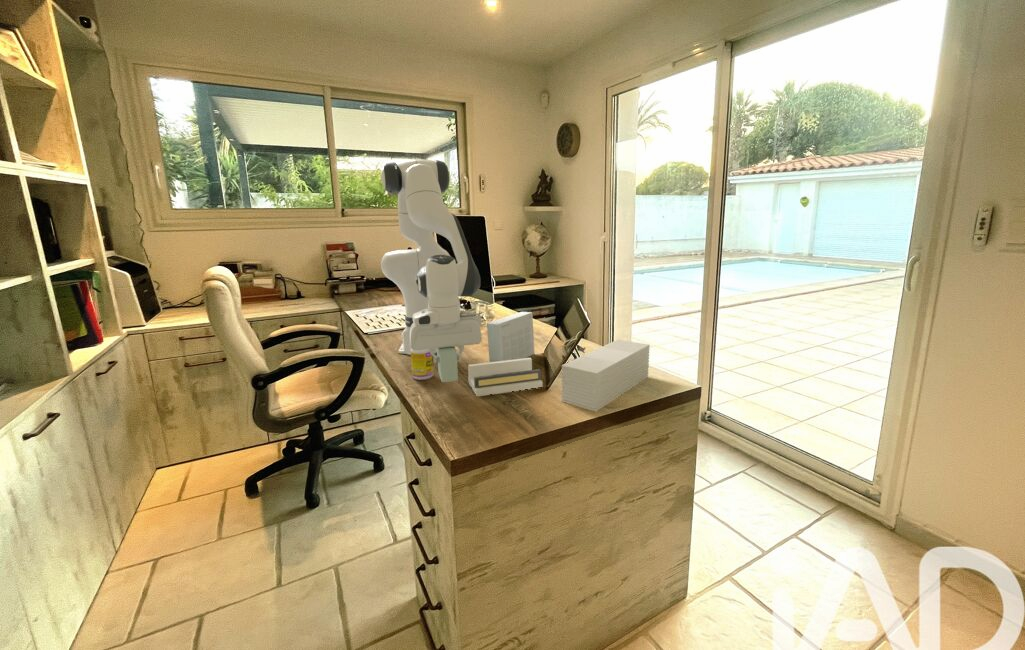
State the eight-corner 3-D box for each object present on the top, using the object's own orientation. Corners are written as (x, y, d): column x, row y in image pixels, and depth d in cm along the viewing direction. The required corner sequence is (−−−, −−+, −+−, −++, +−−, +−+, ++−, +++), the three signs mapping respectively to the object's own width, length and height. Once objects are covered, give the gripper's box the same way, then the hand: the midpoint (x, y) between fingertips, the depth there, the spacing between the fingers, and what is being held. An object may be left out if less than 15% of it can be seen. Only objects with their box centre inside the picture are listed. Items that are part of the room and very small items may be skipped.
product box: (438, 372, 131) (436, 343, 128) (453, 370, 132) (452, 342, 130) (442, 382, 123) (440, 351, 121) (458, 380, 124) (456, 350, 122)
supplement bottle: (428, 381, 139) (425, 341, 136) (409, 380, 140) (405, 341, 137) (436, 373, 145) (433, 336, 142) (417, 372, 146) (414, 335, 143)
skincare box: (522, 352, 167) (522, 310, 163) (534, 354, 163) (534, 312, 160) (487, 367, 150) (486, 322, 146) (500, 370, 147) (499, 324, 143)
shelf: (468, 382, 137) (467, 363, 135) (529, 374, 142) (529, 356, 141) (476, 396, 125) (475, 376, 124) (542, 387, 131) (542, 368, 129)
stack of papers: (595, 412, 114) (596, 373, 111) (561, 402, 121) (561, 365, 118) (648, 377, 137) (649, 344, 135) (616, 370, 144) (617, 339, 142)
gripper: (478, 309, 129) (480, 354, 132) (407, 314, 123) (410, 361, 126) (483, 313, 123) (485, 360, 126) (408, 320, 117) (412, 368, 121)
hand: (447, 361), depth 126 cm, fingers closed on product box, 5 cm apart
